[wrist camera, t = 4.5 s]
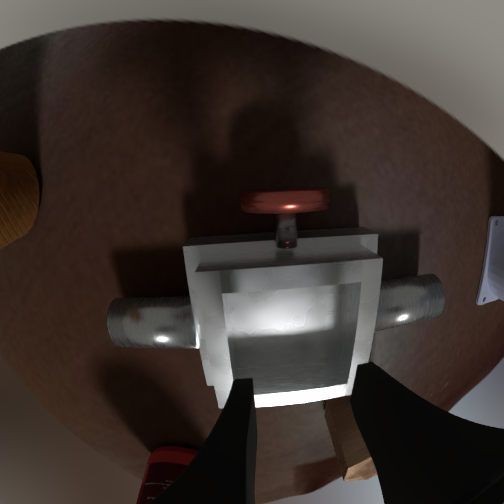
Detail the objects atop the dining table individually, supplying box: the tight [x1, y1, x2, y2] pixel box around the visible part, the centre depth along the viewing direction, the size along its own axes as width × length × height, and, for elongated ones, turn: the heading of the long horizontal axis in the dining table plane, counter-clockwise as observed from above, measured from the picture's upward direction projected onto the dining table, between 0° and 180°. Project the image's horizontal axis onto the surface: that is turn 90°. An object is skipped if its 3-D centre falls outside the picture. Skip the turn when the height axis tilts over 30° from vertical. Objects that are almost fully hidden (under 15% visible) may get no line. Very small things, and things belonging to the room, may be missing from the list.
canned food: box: [136, 446, 198, 504], centre depth 16 cm, size 8×8×11 cm
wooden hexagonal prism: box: [325, 395, 377, 481], centre depth 16 cm, size 4×5×7 cm
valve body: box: [107, 188, 445, 408], centre depth 14 cm, size 20×11×4 cm, turn 94°
